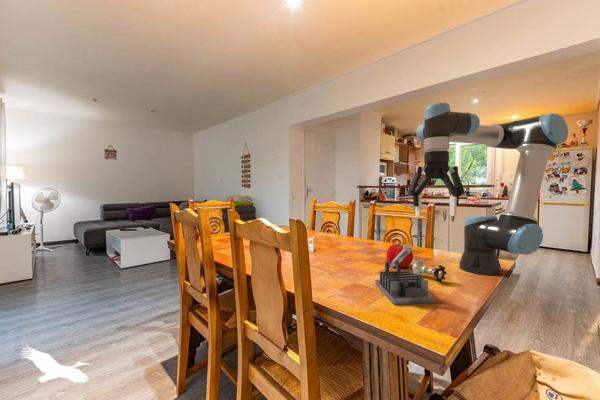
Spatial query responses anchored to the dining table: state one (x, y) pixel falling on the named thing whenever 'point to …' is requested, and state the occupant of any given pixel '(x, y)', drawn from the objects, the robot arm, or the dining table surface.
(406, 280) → the heatsink
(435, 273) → the valve
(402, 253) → the grey long bar
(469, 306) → the dining table surface
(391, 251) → the tomato
